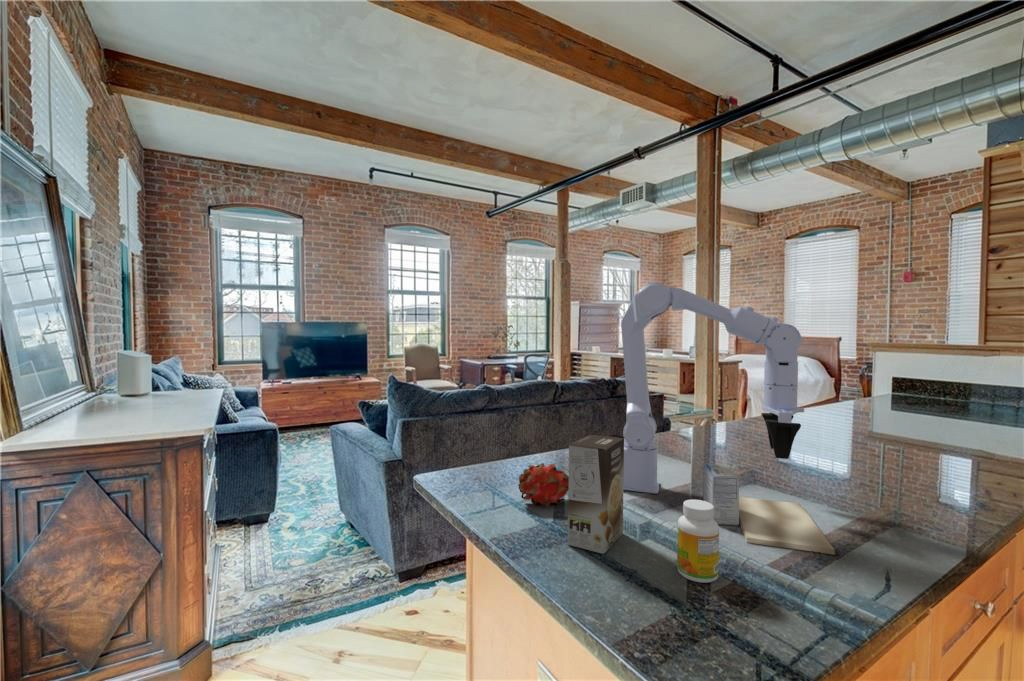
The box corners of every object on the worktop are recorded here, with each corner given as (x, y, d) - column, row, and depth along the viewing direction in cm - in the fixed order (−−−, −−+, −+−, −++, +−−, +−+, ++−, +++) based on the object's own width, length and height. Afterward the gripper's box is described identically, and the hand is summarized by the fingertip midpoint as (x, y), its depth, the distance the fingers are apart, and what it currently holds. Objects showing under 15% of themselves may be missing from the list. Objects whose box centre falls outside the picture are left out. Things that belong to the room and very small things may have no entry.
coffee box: (605, 555, 69) (606, 449, 69) (566, 545, 73) (567, 444, 72) (624, 533, 77) (625, 437, 77) (588, 524, 81) (588, 433, 80)
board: (746, 542, 74) (746, 537, 74) (731, 499, 93) (731, 496, 93) (834, 554, 70) (834, 549, 70) (799, 507, 89) (799, 503, 89)
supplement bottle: (670, 564, 67) (671, 497, 67) (706, 563, 67) (707, 497, 67) (687, 584, 61) (688, 512, 61) (726, 583, 62) (727, 511, 62)
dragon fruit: (511, 513, 89) (565, 514, 94) (530, 499, 83) (587, 500, 88) (507, 471, 94) (558, 473, 99) (524, 454, 88) (578, 457, 92)
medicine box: (739, 526, 80) (740, 477, 80) (712, 524, 81) (712, 475, 81) (727, 509, 88) (728, 464, 88) (702, 507, 89) (703, 463, 89)
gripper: (811, 389, 83) (810, 465, 83) (798, 382, 96) (796, 447, 96) (766, 387, 85) (765, 460, 86) (759, 380, 99) (758, 443, 99)
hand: (779, 453), depth 91 cm, fingers open, 7 cm apart
